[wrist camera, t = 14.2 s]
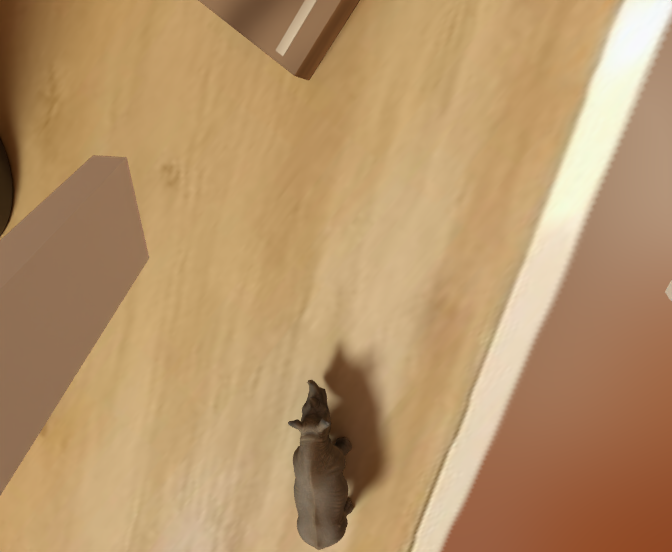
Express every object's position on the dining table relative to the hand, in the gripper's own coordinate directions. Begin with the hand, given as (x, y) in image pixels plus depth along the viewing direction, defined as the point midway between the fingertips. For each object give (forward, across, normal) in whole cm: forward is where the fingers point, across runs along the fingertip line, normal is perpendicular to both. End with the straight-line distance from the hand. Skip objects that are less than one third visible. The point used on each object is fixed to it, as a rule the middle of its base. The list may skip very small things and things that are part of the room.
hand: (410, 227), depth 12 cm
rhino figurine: (+15, -2, -29) cm, 33 cm away
